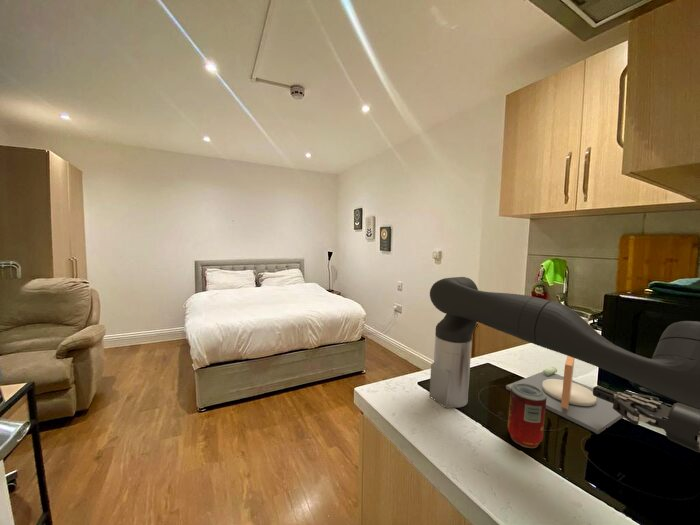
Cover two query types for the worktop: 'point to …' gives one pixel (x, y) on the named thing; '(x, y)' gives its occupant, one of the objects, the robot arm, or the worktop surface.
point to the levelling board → (584, 416)
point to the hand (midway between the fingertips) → (594, 390)
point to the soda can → (526, 415)
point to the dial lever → (568, 389)
